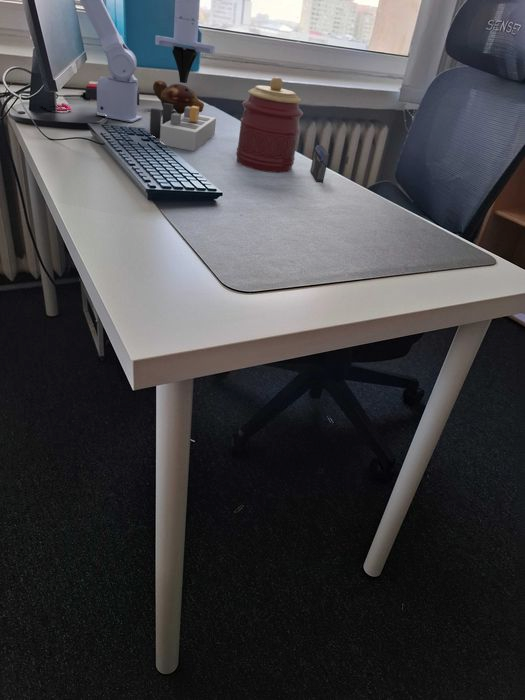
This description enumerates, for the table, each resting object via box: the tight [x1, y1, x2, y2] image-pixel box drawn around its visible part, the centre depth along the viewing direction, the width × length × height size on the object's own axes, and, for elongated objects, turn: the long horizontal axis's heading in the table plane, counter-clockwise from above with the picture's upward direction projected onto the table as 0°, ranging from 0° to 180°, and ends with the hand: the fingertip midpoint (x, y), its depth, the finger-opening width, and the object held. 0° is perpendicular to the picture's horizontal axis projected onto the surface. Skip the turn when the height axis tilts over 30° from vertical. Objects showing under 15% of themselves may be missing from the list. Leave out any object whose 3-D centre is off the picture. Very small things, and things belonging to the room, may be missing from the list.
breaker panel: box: [159, 106, 217, 152], centre depth 122 cm, size 8×22×6 cm, turn 172°
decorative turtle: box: [152, 80, 205, 114], centre depth 148 cm, size 10×15×8 cm, turn 88°
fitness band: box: [56, 103, 72, 111], centre depth 128 cm, size 8×6×2 cm
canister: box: [235, 76, 304, 173], centre depth 110 cm, size 13×13×18 cm
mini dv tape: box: [309, 144, 330, 184], centre depth 111 cm, size 8×2×6 cm, turn 4°
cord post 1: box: [149, 107, 162, 139], centre depth 118 cm, size 2×2×6 cm
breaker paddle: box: [189, 106, 200, 122], centre depth 121 cm, size 2×3×3 cm, turn 172°
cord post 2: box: [161, 103, 174, 125], centre depth 127 cm, size 2×2×6 cm
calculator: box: [84, 81, 140, 106], centre depth 153 cm, size 11×4×15 cm
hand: (183, 82), depth 130 cm, fingers closed
